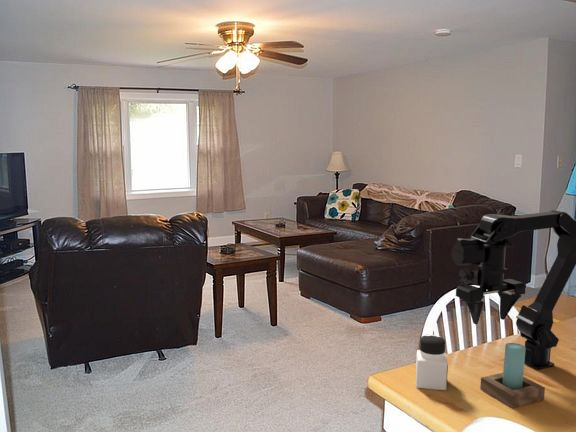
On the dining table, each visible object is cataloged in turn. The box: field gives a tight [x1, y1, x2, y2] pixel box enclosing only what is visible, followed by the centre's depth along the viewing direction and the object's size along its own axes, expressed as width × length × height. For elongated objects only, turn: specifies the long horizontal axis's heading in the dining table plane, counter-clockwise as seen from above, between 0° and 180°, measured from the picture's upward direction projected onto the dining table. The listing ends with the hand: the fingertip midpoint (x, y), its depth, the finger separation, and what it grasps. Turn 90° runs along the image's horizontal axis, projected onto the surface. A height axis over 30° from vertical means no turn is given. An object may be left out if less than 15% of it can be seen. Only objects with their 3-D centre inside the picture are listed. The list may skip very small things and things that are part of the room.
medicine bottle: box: [415, 334, 449, 391], centre depth 134 cm, size 7×7×12 cm
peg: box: [502, 342, 526, 390], centre depth 128 cm, size 4×4×12 cm
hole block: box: [479, 372, 546, 409], centre depth 129 cm, size 10×10×3 cm
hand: (488, 321), depth 141 cm, fingers open, 9 cm apart
